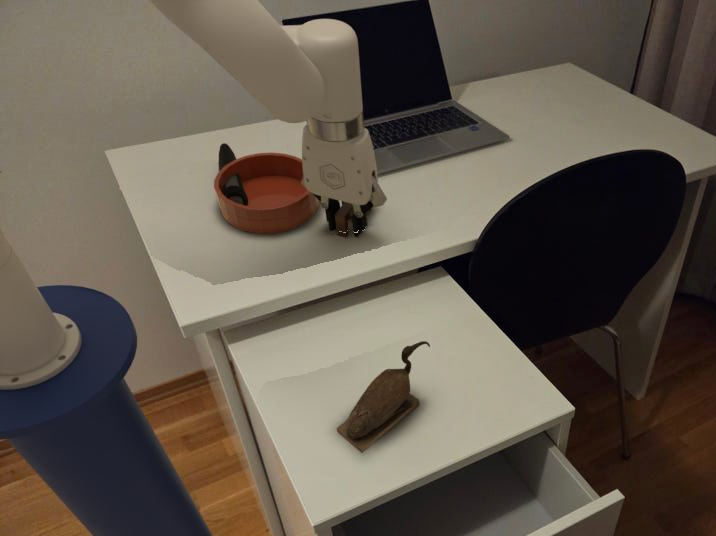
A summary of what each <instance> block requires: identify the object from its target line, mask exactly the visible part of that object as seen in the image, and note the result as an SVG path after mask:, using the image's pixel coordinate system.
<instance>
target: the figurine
mask: <svg viewBox="0 0 716 536" xmlns="http://www.w3.org/2000/svg"><path fill="white" fill-rule="evenodd" d="M423 345H427V346H428V347H429V348H430V347H431V345H430V343H429V342H428V341H425V340H424V341H419V342H416V343H413V344H411V345H406V346H405V347H404V348H403V349H402V351H401V356H400V357H401V361H402V362H403V363H404V364H405V366H404V368H386V369H385V370H383V371H381V372H380V373H379V374H378V375H377V376H376V377H375V378H374V379H373V380H372V381H371V382H370V383H369V385H368V386H366V387H367V388H366V389H365V390H364V391H363V393H362V395H361V396H360V398H359V399H358V401H357V402H356V404H355V405H354V406H353V409H351V412H350V414H349V415H348V417H347V418H346V420H345V421H343V422H342V423H341V424H339V425H338V426H337V427H336V432H337V433H338V434H339V435H340V436H341V437H343V438H344V439H345V440H346V441H347V442H348V443H349V444H350V445H352V446H353V447H354V448H355V449H356V450H357V451H359V452H360V453H361V454H363V453H365V451H367V450H368V449H369V448H370V447H371V446H373V444H375V443H376V442H377V441H378V440H379V439H381V437H383V436H384V435H385V434H386V433H387V432H389V431H390V430H391V428H393V427H394V426H396V425H397V424H398V423H399V422H400V421H401V420H402V419H403V418H405V417H406V416H407V415H408V414H410V413H411V412H412V411H413V410H414V409H415V408H416V407H417V406H419V405H420V399H419V398H417V397H416V396H414V395H413V394H411V393H410V391H411V381H410V374H411V370H412V362H411V361H410V360H409V357H410V356H412V354H413V353H414V352H415V350H417V349H418V348H419V347H421V346H423Z"/></svg>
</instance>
